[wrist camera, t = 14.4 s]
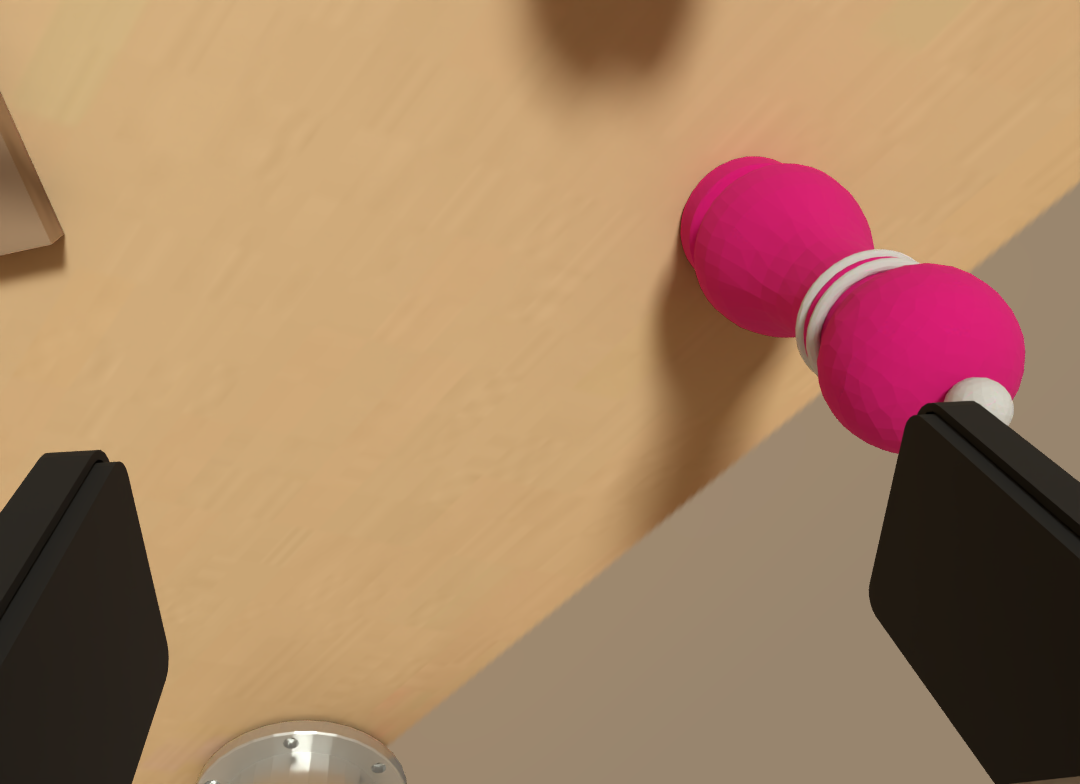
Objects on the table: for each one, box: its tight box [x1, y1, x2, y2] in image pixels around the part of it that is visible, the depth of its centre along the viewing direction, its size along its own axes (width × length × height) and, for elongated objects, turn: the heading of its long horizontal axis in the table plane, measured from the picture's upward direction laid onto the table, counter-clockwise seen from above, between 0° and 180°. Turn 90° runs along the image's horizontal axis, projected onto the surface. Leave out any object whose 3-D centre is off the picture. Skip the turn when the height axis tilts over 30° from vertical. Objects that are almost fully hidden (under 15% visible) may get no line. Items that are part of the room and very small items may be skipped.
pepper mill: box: [681, 157, 1025, 454], centre depth 33 cm, size 7×7×20 cm
